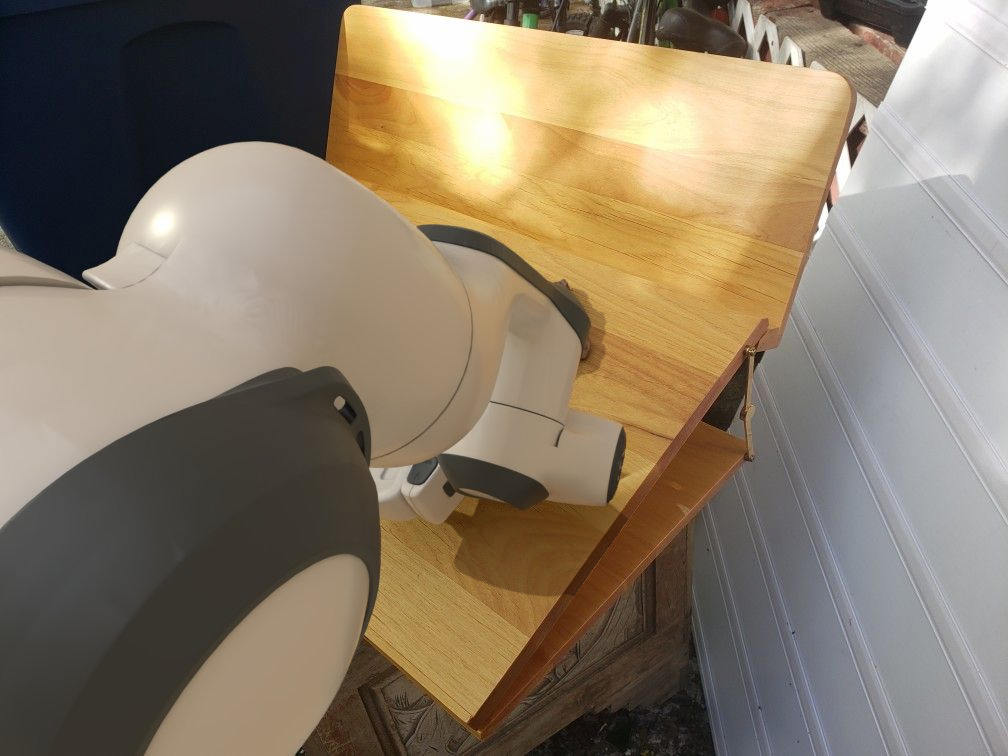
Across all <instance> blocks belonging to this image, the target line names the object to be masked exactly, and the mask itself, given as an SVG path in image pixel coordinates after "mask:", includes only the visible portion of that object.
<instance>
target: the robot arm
mask: <svg viewBox="0 0 1008 756" xmlns="http://www.w3.org/2000/svg"><path fill="white" fill-rule="evenodd" d="M81 273H82V274H81V276H82V278H83V280H85V281H86V282H88V283H89V284H90V285H92V286H93V287H95V288H96V289H94V288H93V287H91V286H89V285H87V284H85V283H84V282H82V281H80V280H78V279H76V278H74V277H73V276H71V275H69V274H67V273H65V272H63V271H61V270H59V269H57V268H54V267H53V266H51V265H48V264H46V263H44V262H42V261H40V260H37V259H36V258H34V257H31V256H29V255H28V254H25V253H23V252H21V251H18V250H15V249H13V248H10V247H7V246H6V245H3V244H1V243H0V756H295V755H296V754H297V752H298V751H299V750H300V749H301V747H302V746H303V745H304V744H305V743H306V741H308V739H309V737H310V736H311V734H312V733H313V732H314V730H315V729H316V727H317V726H318V725H319V723H320V722H321V720H322V719H323V717H324V716H325V714H326V712H327V711H328V709H329V708H330V706H331V704H332V703H333V701H334V699H335V697H336V695H337V693H338V692H339V690H340V688H341V686H342V684H343V681H344V680H345V677H346V675H347V672H348V670H349V667H350V665H351V664H352V661H353V659H354V658H355V656H356V654H357V652H358V650H359V648H360V645H361V643H362V640H363V638H364V637H365V635H366V632H367V629H368V626H369V623H370V621H371V618H372V615H373V612H374V609H375V607H376V606H375V605H376V601H377V599H378V593H379V587H380V580H381V579H380V578H381V568H382V529H381V520H382V521H387V522H398V523H399V522H400V523H404V522H410V521H412V520H415V519H416V518H418V517H420V518H421V519H422V520H424V522H425V521H426V523H429V524H432V525H434V526H435V525H436V526H438V525H439V526H440V525H441V524H442V523H444V522H445V521H446V520H447V519H448V518H449V516H450V515H451V514H452V513H453V512H454V511H455V510H456V508H457V507H458V505H459V504H461V502H462V501H463V500H464V498H466V497H467V498H471V499H476V500H483V501H484V500H485V501H493V502H496V503H497V502H498V503H503V504H506V505H509V506H511V507H513V508H515V509H517V510H519V511H526V510H527V511H528V509H531V508H532V507H535V506H536V505H538V504H540V503H542V502H544V501H548V502H555V503H562V504H569V505H579V506H589V507H590V506H591V507H606V506H607V505H608V504H609V503H610V502H611V500H613V499H614V497H615V495H616V493H617V491H618V486H619V483H620V480H621V475H622V469H623V466H624V461H625V457H626V449H627V433H626V430H625V427H624V425H623V424H622V423H620V422H618V421H616V420H614V419H611V418H608V417H605V416H602V415H599V414H595V413H592V412H589V411H585V410H582V409H578V408H574V407H570V404H571V400H572V396H573V391H574V386H575V383H576V378H577V373H578V369H579V364H580V361H581V360H582V359H581V357H582V354H583V351H584V348H585V345H586V341H587V338H589V335H590V331H591V328H592V321H591V319H590V317H589V314H588V313H587V311H586V309H585V307H584V305H583V304H582V303H581V301H580V300H579V298H578V297H577V296H576V294H574V293H573V292H572V290H571V291H569V290H567V289H566V288H564V287H561V286H559V285H557V284H555V283H554V282H552V281H551V280H548V279H547V278H546V277H545V276H543V274H541V273H540V272H539V271H537V270H536V269H535V268H534V266H532V265H531V264H529V262H527V261H526V260H525V259H524V258H523V257H521V256H520V255H519V254H517V253H516V252H515V251H514V250H513V249H512V248H510V247H508V245H506V244H504V243H503V242H501V241H500V240H498V239H496V238H494V237H493V236H491V235H490V234H486V233H484V232H481V231H479V230H475V229H473V228H468V227H464V226H457V225H450V224H440V223H429V224H427V223H426V224H419V225H415V224H414V223H413V222H412V221H411V220H410V219H409V218H408V217H406V216H405V215H404V214H403V213H402V212H400V211H399V210H398V209H396V208H395V207H394V206H393V205H392V204H390V203H389V202H388V201H387V200H385V199H384V198H382V197H381V196H379V195H378V194H377V193H376V192H374V191H372V190H371V189H369V188H368V187H367V186H365V185H364V184H362V183H361V182H359V181H358V180H357V179H355V178H354V177H352V176H351V175H349V174H348V173H345V172H344V171H343V170H341V169H339V168H337V167H336V166H334V165H332V164H331V163H329V162H327V161H325V160H324V159H323V158H321V157H319V156H316V155H314V154H312V153H310V152H307V151H305V150H303V149H301V148H298V147H295V146H290V145H286V144H282V143H277V142H269V141H268V142H267V141H258V140H257V141H240V142H233V143H227V144H222V145H218V146H215V147H212V148H209V149H206V150H204V151H202V152H199V153H197V154H195V155H193V156H191V157H189V158H187V159H185V160H183V161H182V162H180V163H179V164H177V165H175V166H174V167H172V168H171V169H170V170H168V171H167V172H166V173H165V174H164V175H162V176H161V177H160V178H158V180H157V181H156V182H155V183H154V184H153V185H152V186H151V187H150V188H149V189H148V190H147V192H146V193H145V194H144V195H143V197H141V199H140V201H139V202H138V203H137V205H136V207H135V208H134V209H133V211H132V213H131V214H130V216H129V219H128V220H127V222H126V224H125V226H124V229H123V231H122V234H121V236H120V240H119V242H118V246H117V249H116V253H115V256H113V257H112V258H110V259H109V260H108V261H105V262H104V263H101V264H99V265H98V266H95V267H92V268H91V267H90V268H88V269H86V270H84V271H82V272H81Z"/></svg>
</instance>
